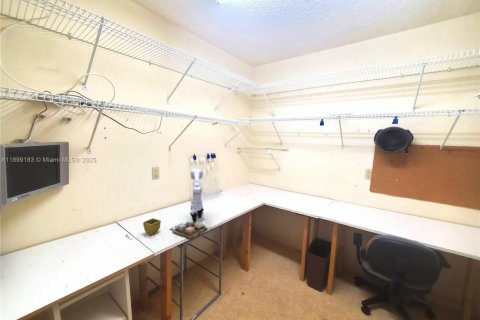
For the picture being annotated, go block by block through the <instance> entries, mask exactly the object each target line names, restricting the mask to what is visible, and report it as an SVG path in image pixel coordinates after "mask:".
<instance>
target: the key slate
mask: <svg viewBox="0 0 480 320" xmlns="http://www.w3.org/2000/svg"><path fill="white" fill-rule="evenodd" d="M179 224H180V225H179ZM179 224H177V225H178V229H180V230H183V229H185V228H186V225H184V224H185V223H182V224H181V223H179Z"/></svg>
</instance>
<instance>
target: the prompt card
mask: <svg viewBox="0 0 480 320" xmlns="http://www.w3.org/2000/svg"><path fill="white" fill-rule="evenodd" d="M180 224H183V223H182V222H181V223H179V224H177V225H175V226H173V227H170V228H169V231H173V230H175V229H176V228H178V225H180Z"/></svg>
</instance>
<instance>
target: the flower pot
mask: <svg viewBox="0 0 480 320" xmlns="http://www.w3.org/2000/svg"><path fill="white" fill-rule="evenodd" d="M161 223H162V221H161V219H157V218H150V219H148V220H146V221H143V222H142V225H143V229H144V231H145V233H146V234H147V235H150V236H154V235H155V234H157V233H158V232H159V231H160V230H161V229H160V228H161Z"/></svg>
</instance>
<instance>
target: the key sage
mask: <svg viewBox="0 0 480 320" xmlns="http://www.w3.org/2000/svg"><path fill="white" fill-rule="evenodd" d="M185 224H187V225H190V226H191V225H193V224H195V222H193V220H191V219H189V220H187V221H186V223H185Z"/></svg>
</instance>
